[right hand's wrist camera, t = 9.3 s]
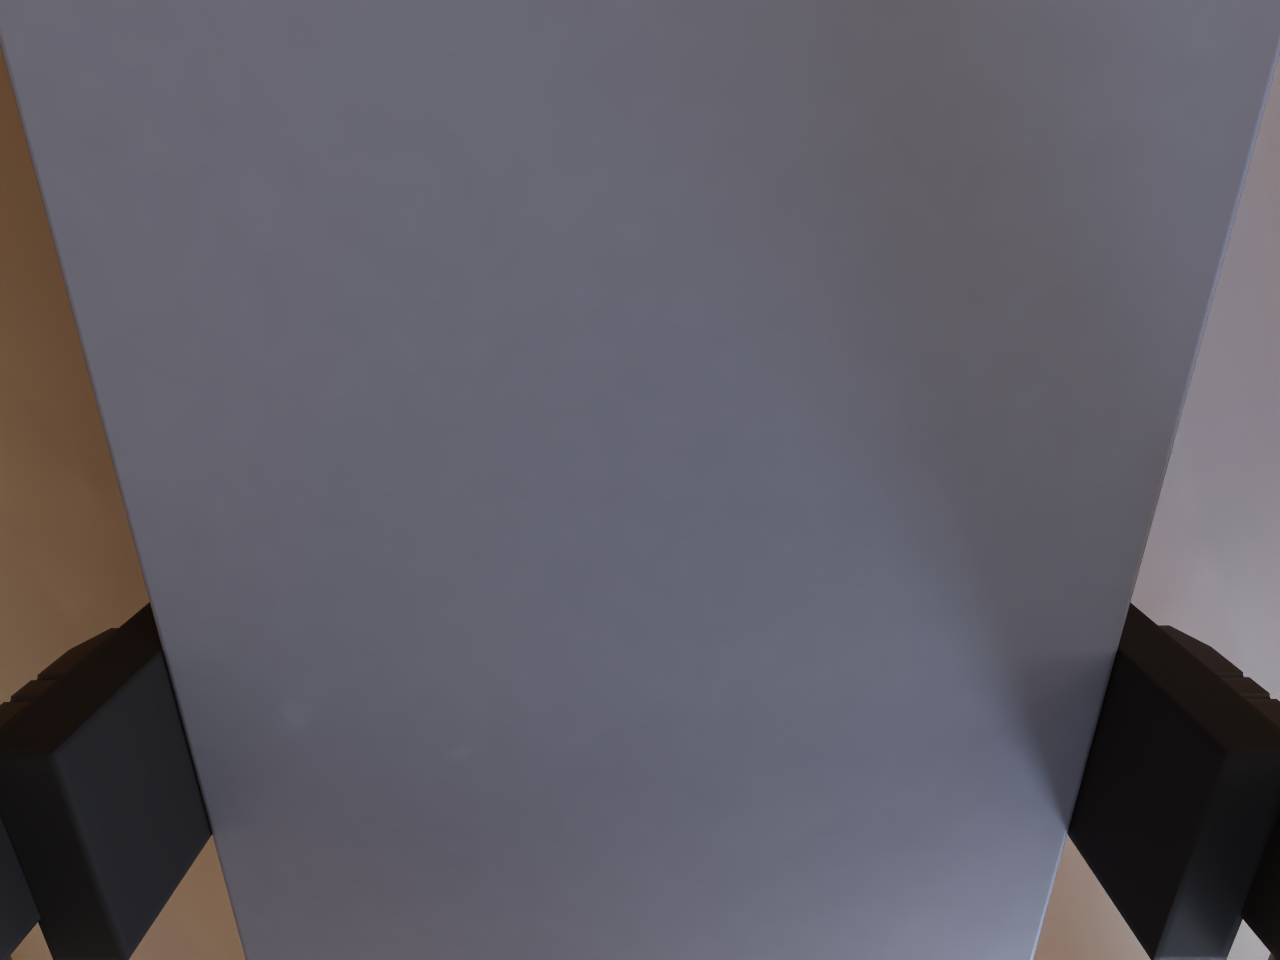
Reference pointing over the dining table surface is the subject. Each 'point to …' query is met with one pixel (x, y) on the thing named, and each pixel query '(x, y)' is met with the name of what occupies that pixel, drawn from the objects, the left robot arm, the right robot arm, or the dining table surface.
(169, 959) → the dining table surface
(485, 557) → the grey rectangular box
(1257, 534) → the dining table surface
